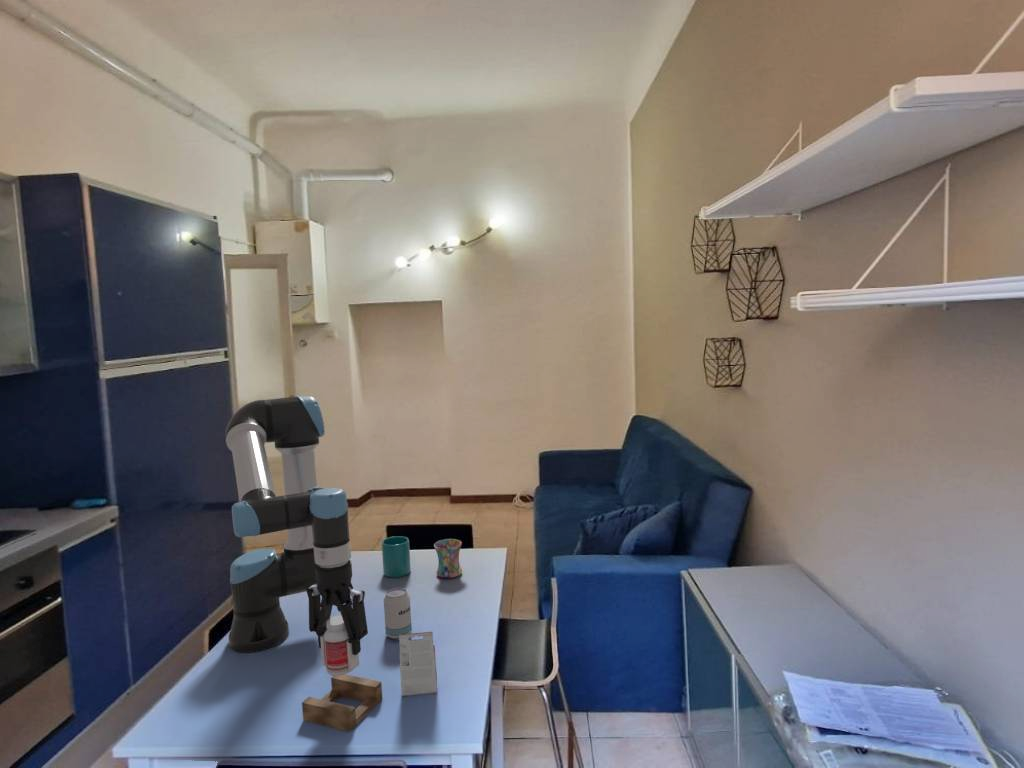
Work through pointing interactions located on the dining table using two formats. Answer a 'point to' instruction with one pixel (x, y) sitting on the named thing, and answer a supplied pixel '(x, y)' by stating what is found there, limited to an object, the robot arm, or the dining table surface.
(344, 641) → the pill bottle
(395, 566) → the cup
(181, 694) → the dining table surface
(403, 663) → the ink box
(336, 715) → the walnut holder
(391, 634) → the beverage can
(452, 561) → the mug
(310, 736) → the dining table surface
